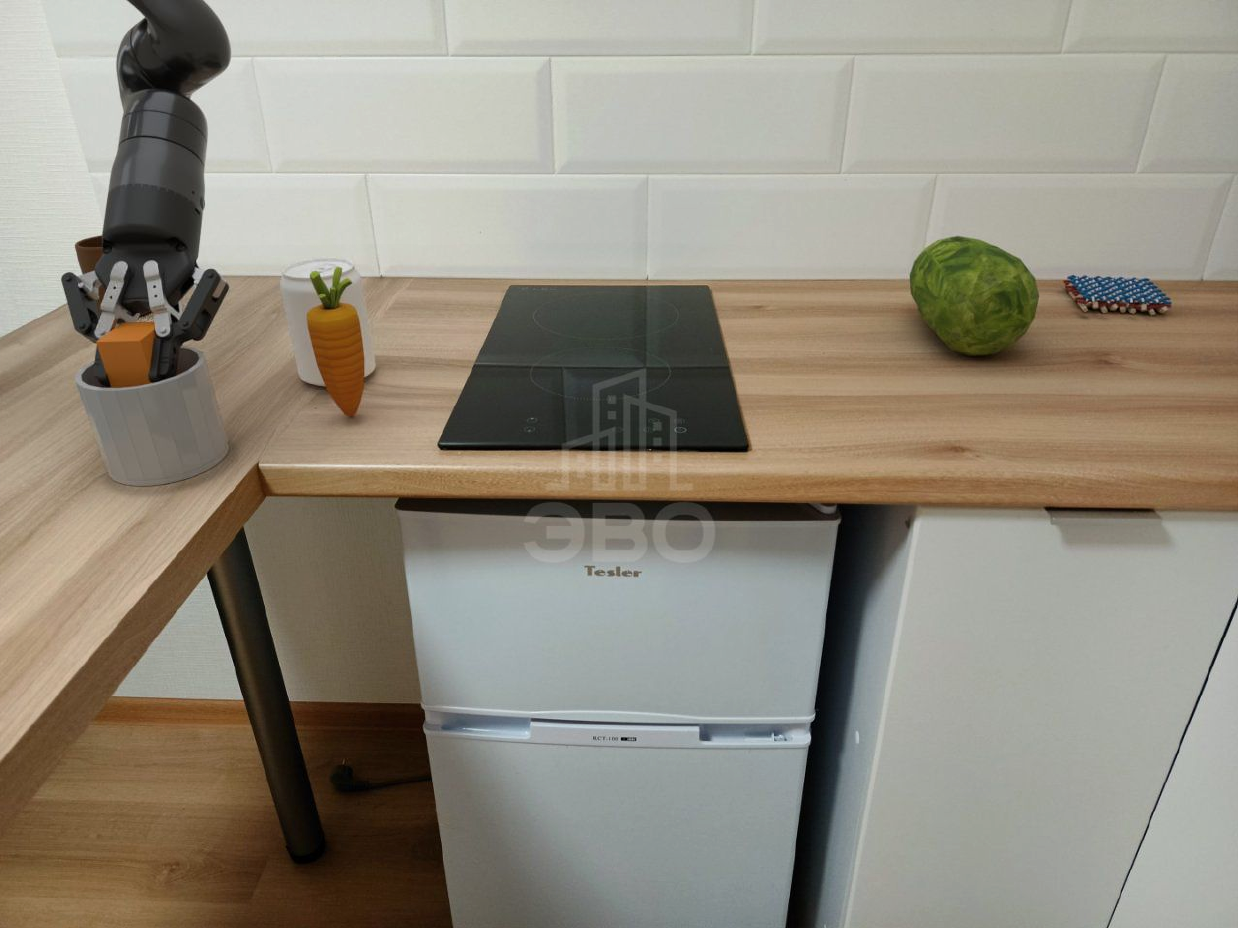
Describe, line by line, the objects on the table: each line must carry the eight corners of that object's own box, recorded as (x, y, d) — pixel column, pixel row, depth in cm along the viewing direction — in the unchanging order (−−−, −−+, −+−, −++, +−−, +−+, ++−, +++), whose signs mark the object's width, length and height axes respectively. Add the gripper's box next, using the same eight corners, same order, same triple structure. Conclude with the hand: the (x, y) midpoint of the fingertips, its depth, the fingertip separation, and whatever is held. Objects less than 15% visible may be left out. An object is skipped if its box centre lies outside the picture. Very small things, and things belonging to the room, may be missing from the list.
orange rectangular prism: (131, 449, 75) (95, 341, 70) (154, 425, 79) (121, 322, 74) (173, 448, 75) (140, 340, 70) (194, 424, 79) (164, 321, 74)
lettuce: (968, 303, 111) (985, 215, 106) (1041, 364, 93) (1066, 262, 88) (880, 305, 111) (892, 217, 106) (936, 367, 93) (954, 265, 88)
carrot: (362, 401, 88) (336, 256, 80) (386, 417, 85) (361, 267, 77) (316, 416, 85) (284, 267, 78) (339, 433, 82) (309, 279, 74)
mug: (109, 296, 120) (87, 228, 115) (168, 290, 122) (149, 223, 117) (90, 323, 110) (66, 250, 105) (155, 317, 112) (134, 244, 107)
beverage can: (283, 384, 92) (259, 274, 86) (332, 357, 99) (312, 253, 93) (346, 394, 89) (325, 282, 83) (391, 366, 96) (374, 260, 90)
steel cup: (82, 473, 76) (47, 379, 71) (173, 426, 84) (147, 338, 79) (165, 495, 72) (134, 397, 68) (252, 443, 80) (230, 353, 76)
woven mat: (1058, 287, 117) (1062, 272, 116) (1144, 291, 115) (1148, 276, 114) (1078, 312, 108) (1082, 296, 107) (1171, 317, 106) (1176, 301, 105)
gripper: (49, 182, 73) (19, 371, 68) (217, 178, 73) (198, 366, 69) (100, 229, 80) (75, 403, 76) (252, 225, 80) (237, 398, 76)
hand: (134, 384), depth 72 cm, fingers closed on orange rectangular prism, 3 cm apart
